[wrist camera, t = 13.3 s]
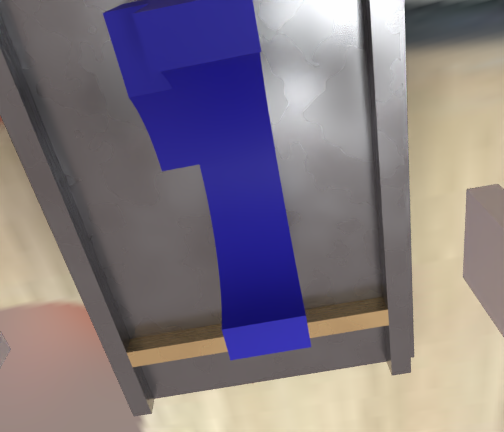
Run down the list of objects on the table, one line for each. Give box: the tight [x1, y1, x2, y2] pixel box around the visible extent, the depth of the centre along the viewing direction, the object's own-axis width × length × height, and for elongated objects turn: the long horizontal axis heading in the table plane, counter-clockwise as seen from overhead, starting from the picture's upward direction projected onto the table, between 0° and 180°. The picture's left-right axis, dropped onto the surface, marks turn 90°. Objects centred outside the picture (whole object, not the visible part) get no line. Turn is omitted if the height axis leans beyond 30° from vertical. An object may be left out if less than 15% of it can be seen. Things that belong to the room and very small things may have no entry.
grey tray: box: [0, 0, 414, 416], centre depth 20 cm, size 26×16×2 cm, turn 10°
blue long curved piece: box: [103, 0, 311, 360], centre depth 17 cm, size 12×4×6 cm, turn 10°
